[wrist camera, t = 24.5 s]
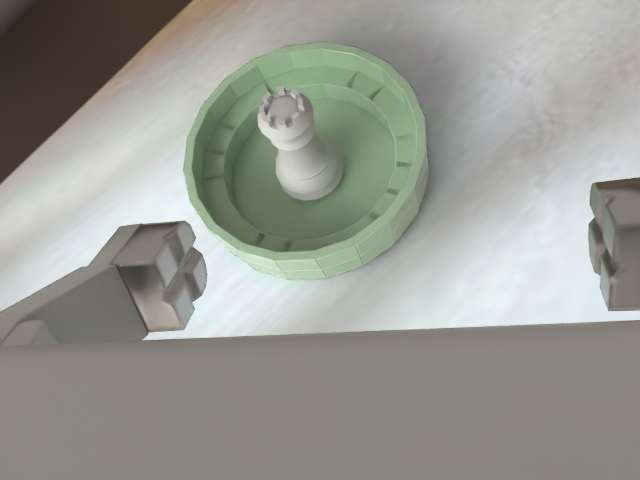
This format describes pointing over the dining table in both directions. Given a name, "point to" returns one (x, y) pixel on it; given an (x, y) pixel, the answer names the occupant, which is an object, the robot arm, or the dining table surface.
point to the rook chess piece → (299, 146)
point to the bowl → (337, 126)
